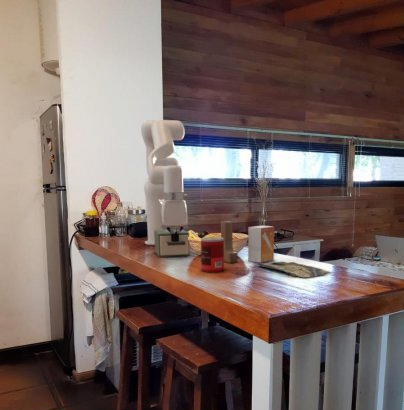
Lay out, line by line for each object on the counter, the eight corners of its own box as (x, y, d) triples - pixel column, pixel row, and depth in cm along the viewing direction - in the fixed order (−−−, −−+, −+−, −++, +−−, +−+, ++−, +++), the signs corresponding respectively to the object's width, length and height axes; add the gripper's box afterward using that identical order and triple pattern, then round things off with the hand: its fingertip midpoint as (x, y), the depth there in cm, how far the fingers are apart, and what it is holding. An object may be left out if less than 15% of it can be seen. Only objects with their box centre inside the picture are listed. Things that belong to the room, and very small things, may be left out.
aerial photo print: (341, 271, 138) (341, 266, 137) (303, 279, 126) (304, 274, 126) (283, 261, 157) (283, 257, 157) (246, 267, 146) (246, 263, 146)
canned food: (226, 268, 146) (226, 236, 144) (221, 273, 138) (220, 239, 137) (205, 267, 148) (204, 236, 146) (198, 272, 140) (198, 239, 139)
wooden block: (221, 260, 161) (220, 221, 159) (228, 259, 163) (227, 221, 160) (230, 263, 155) (230, 222, 153) (237, 262, 157) (237, 222, 154)
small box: (261, 263, 155) (261, 227, 153) (247, 261, 159) (247, 226, 157) (274, 260, 160) (274, 226, 158) (261, 258, 165) (261, 225, 163)
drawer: (191, 256, 167) (190, 236, 166) (162, 257, 165) (162, 238, 163) (182, 249, 186) (182, 231, 184) (157, 250, 183) (156, 232, 182)
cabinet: (189, 255, 174) (188, 232, 173) (159, 257, 172) (158, 233, 170) (183, 250, 188) (182, 229, 187) (155, 251, 186) (154, 230, 184)
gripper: (190, 196, 171) (191, 241, 174) (153, 197, 168) (155, 243, 171) (194, 197, 164) (195, 243, 167) (156, 198, 161) (157, 245, 164)
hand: (175, 243), depth 169 cm, fingers closed
